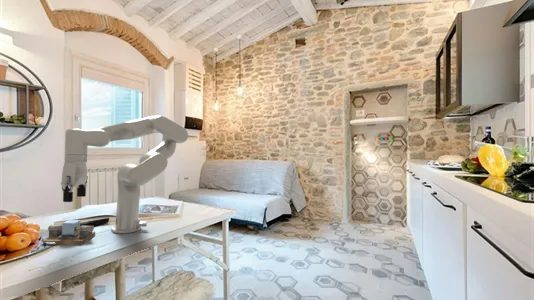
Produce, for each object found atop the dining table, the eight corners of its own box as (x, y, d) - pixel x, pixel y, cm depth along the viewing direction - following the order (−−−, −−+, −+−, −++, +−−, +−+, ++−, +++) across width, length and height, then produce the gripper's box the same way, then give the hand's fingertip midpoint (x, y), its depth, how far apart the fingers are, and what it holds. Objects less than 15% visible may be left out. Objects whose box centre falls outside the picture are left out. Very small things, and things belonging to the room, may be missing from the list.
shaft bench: (97, 235, 113) (98, 222, 113) (84, 244, 102) (85, 230, 102) (57, 234, 110) (58, 221, 110) (39, 244, 99) (40, 229, 99)
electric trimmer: (110, 224, 130) (111, 218, 130) (75, 231, 117) (75, 224, 117) (106, 222, 132) (107, 216, 132) (71, 229, 119) (72, 222, 119)
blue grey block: (59, 237, 104) (61, 223, 104) (66, 233, 108) (67, 219, 108) (75, 237, 105) (76, 223, 105) (81, 234, 109) (82, 220, 109)
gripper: (77, 156, 114) (76, 194, 115) (52, 159, 97) (51, 204, 98) (96, 157, 115) (94, 194, 116) (74, 160, 98) (72, 204, 99)
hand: (74, 199), depth 107 cm, fingers open, 9 cm apart
